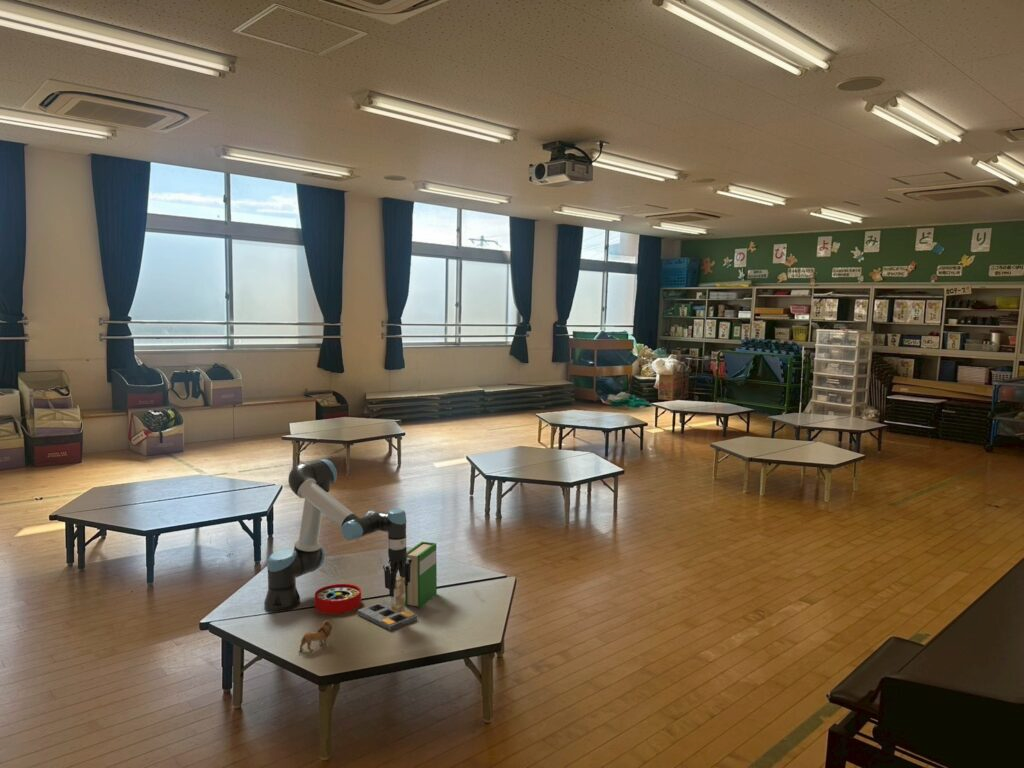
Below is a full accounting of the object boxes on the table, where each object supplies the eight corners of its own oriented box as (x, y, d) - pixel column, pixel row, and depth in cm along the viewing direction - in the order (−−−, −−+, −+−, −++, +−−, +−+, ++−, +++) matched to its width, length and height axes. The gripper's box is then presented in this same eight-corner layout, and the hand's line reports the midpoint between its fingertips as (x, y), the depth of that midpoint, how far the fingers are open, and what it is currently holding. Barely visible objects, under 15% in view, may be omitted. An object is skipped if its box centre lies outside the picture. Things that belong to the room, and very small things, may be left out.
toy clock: (370, 588, 311) (340, 604, 293) (370, 601, 311) (340, 617, 293) (335, 580, 320) (304, 596, 302) (336, 593, 320) (305, 609, 302)
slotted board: (390, 631, 281) (390, 625, 280) (357, 614, 296) (357, 609, 296) (417, 620, 291) (417, 615, 291) (384, 604, 306) (383, 599, 306)
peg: (397, 613, 285) (397, 580, 284) (391, 610, 288) (391, 577, 287) (405, 610, 288) (404, 577, 287) (399, 607, 291) (398, 575, 290)
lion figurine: (327, 639, 274) (327, 617, 273) (335, 643, 270) (335, 620, 269) (295, 652, 262) (294, 629, 262) (302, 656, 259) (302, 633, 258)
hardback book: (419, 608, 303) (419, 555, 301) (404, 606, 305) (404, 553, 303) (436, 593, 320) (436, 543, 317) (422, 591, 322) (421, 541, 320)
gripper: (386, 554, 277) (387, 610, 279) (419, 544, 289) (419, 598, 291) (374, 550, 282) (375, 605, 284) (407, 540, 294) (408, 593, 296)
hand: (398, 601), depth 288 cm, fingers closed on peg, 4 cm apart
